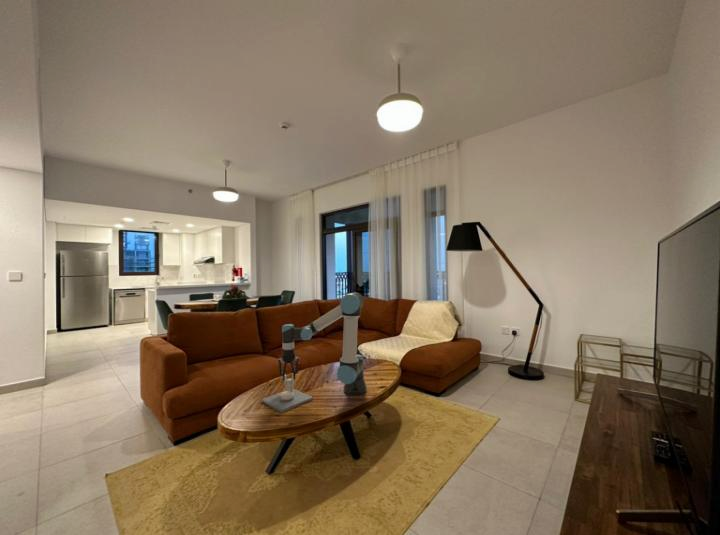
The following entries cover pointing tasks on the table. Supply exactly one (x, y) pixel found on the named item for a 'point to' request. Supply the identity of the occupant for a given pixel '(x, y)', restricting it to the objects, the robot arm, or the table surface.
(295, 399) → the lock base
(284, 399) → the locking lever
